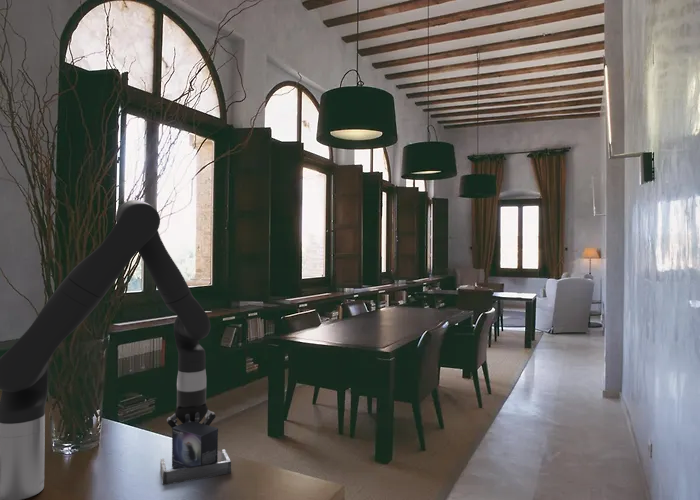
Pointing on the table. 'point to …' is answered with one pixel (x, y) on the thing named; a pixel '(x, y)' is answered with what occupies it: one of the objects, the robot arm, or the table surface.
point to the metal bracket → (196, 471)
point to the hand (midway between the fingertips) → (191, 450)
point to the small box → (194, 444)
